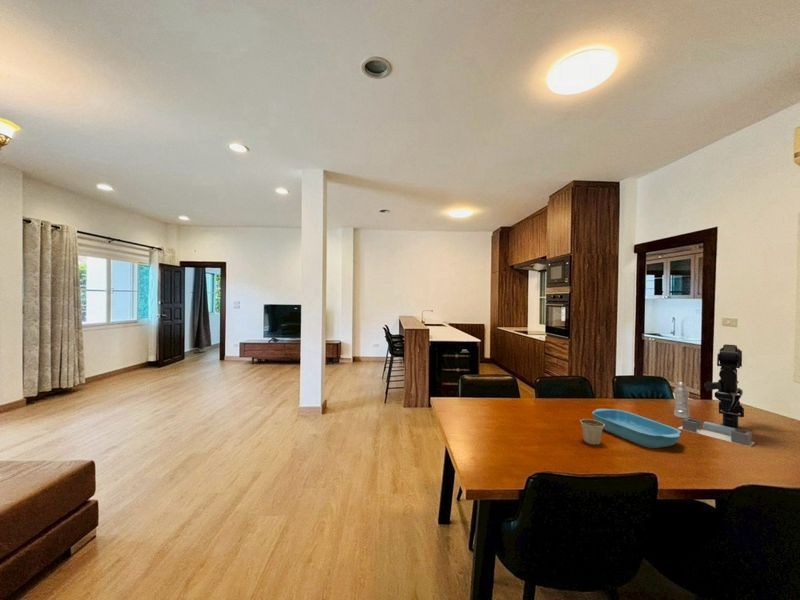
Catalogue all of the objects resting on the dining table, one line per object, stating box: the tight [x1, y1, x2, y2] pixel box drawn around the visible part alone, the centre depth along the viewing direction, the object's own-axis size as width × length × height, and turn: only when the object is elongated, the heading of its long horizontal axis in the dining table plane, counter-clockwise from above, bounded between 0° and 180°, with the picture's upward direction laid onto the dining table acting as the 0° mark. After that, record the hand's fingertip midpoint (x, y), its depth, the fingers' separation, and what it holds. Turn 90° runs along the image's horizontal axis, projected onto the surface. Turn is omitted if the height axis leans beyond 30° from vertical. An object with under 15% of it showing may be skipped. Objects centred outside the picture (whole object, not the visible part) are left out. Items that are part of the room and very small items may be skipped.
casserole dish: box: [591, 408, 682, 449], centre depth 154 cm, size 37×22×7 cm, turn 16°
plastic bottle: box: [673, 380, 691, 420], centre depth 179 cm, size 6×7×20 cm
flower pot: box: [579, 418, 605, 445], centre depth 145 cm, size 9×9×9 cm
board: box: [677, 425, 756, 448], centre depth 153 cm, size 9×25×1 cm, turn 34°
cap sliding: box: [730, 428, 753, 446], centre depth 146 cm, size 7×5×4 cm
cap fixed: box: [681, 417, 702, 434], centre depth 160 cm, size 7×5×4 cm
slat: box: [702, 421, 735, 436], centre depth 157 cm, size 4×14×4 cm, turn 34°
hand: (728, 410), depth 155 cm, fingers open, 9 cm apart
